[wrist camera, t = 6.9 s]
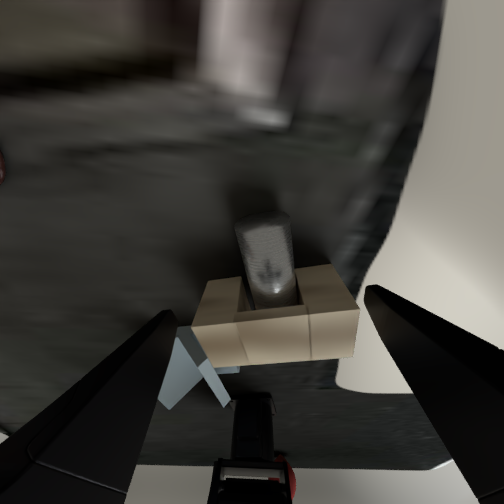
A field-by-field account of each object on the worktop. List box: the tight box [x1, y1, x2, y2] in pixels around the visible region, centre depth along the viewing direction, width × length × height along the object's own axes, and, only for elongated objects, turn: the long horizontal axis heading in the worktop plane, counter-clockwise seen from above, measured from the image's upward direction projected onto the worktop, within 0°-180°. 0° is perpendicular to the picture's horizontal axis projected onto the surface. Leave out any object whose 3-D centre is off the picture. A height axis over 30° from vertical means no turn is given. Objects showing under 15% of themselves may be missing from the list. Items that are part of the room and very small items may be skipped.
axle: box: [234, 211, 298, 310], centre depth 14 cm, size 11×4×4 cm, turn 11°
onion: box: [268, 455, 296, 499], centre depth 38 cm, size 6×6×8 cm
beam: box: [191, 264, 360, 368], centre depth 14 cm, size 5×10×5 cm, turn 101°
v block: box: [158, 326, 240, 410], centre depth 19 cm, size 8×9×4 cm
